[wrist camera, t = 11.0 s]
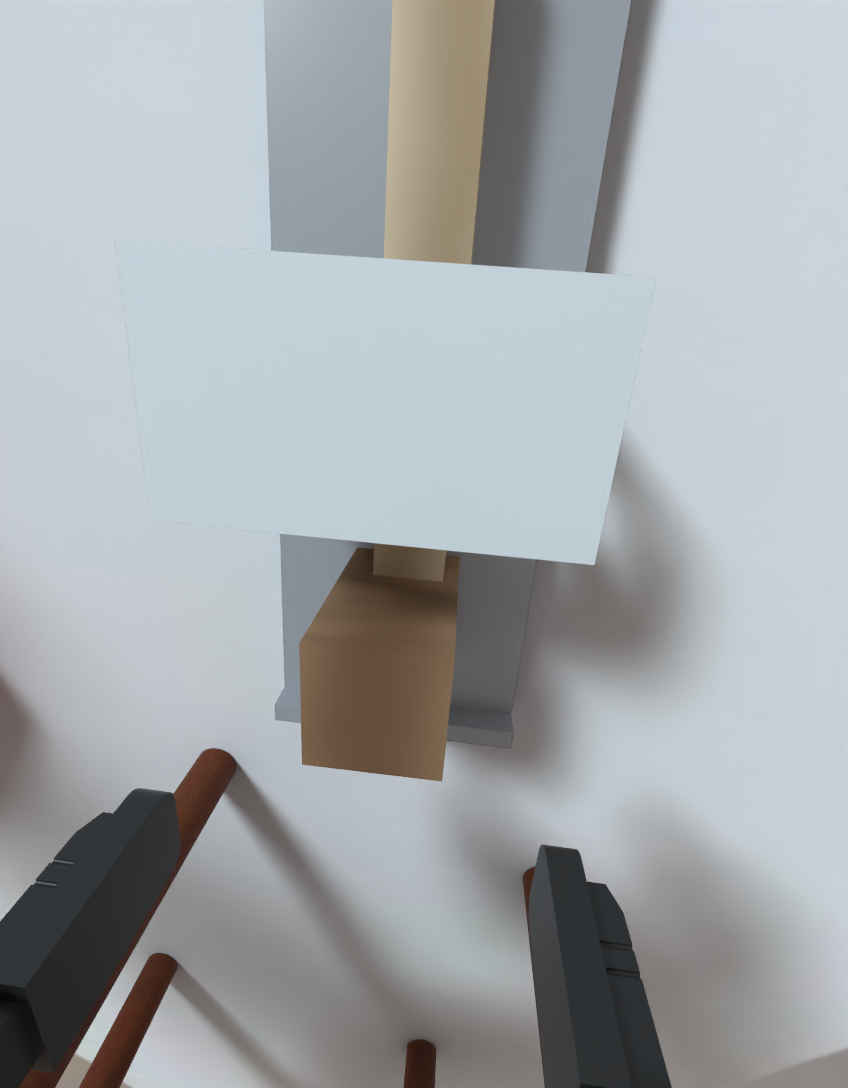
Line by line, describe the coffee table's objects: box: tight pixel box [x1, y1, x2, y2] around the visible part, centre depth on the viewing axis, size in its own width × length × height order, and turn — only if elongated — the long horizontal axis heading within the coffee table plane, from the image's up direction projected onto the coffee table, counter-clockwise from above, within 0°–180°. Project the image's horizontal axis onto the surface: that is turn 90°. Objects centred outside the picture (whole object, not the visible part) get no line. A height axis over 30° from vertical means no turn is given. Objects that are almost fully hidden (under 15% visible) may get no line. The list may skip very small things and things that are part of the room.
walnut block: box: [299, 547, 459, 781], centre depth 16 cm, size 4×4×7 cm
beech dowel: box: [373, 0, 496, 582], centre depth 15 cm, size 2×18×2 cm, turn 176°
